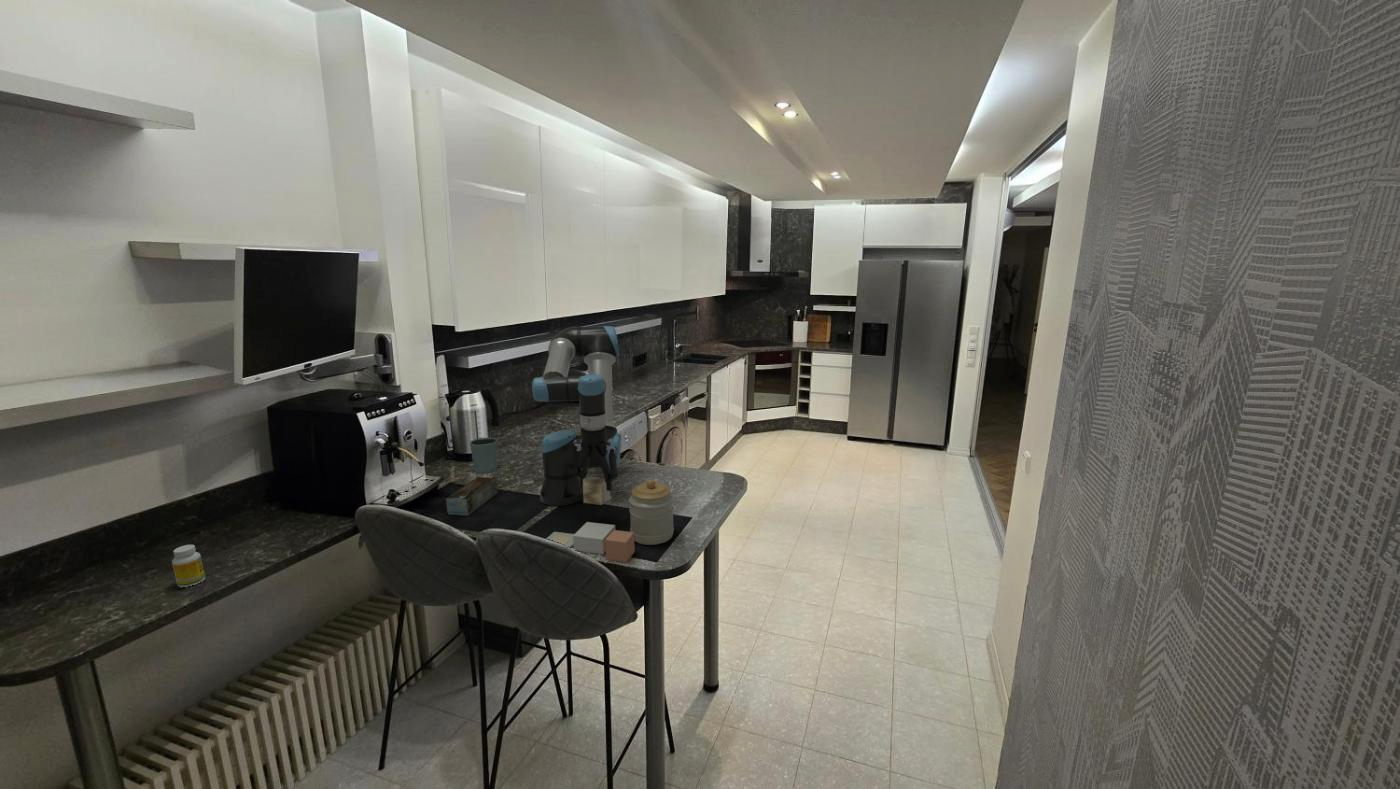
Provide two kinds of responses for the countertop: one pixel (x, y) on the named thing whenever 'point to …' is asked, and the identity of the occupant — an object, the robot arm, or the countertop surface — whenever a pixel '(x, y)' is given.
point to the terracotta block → (620, 546)
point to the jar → (651, 513)
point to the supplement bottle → (187, 566)
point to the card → (562, 538)
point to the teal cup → (484, 454)
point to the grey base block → (592, 537)
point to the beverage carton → (471, 496)
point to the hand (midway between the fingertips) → (596, 498)
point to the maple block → (594, 491)
